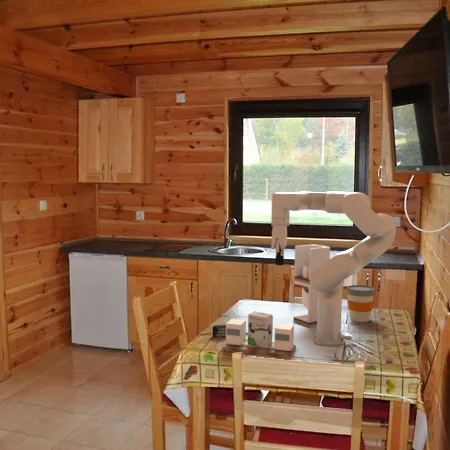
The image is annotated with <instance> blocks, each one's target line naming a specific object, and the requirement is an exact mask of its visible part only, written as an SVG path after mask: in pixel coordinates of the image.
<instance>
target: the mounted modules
mask: <svg viewBox="0 0 450 450" xmlns="http://www.w3.org/2000/svg"><path fill="white" fill-rule="evenodd" d="M225 325H226V337H225V344H233V345H242V344H243V342H244V341H245V340H246V338H247V335H246V333H247V320H246V319H237V318H231V319H229V320H228V321H227V322H226V323H225ZM294 334H295V325H294V324H290V323H280V322H278V324H276V325H275V327H274V339H273V340H274V349H277V350H286V351H290V350H291V349H292V347H293V345H295V344H294V343H295V341H294V339H295V337H294V336H295V335H294Z"/></svg>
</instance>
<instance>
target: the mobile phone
mask: <svg viewBox="0 0 450 450" xmlns="http://www.w3.org/2000/svg"><path fill="white" fill-rule="evenodd" d="M246 336H248V332H246ZM212 337H214V338H226V324H215V325H213V326H212Z"/></svg>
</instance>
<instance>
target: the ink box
mask: <svg viewBox="0 0 450 450" xmlns="http://www.w3.org/2000/svg"><path fill="white" fill-rule="evenodd" d="M247 316H248V317H247V333H248V335H247V339H248V344H252V345H256V346H260V347H265V348H267V347H269V346H270V345H272V342H273V329H274V328H273V326H274V325H273V323H274V315H272V314H270V313H265V312H260V311H257V310H256V311H252V312H251V313H248V315H247Z"/></svg>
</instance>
